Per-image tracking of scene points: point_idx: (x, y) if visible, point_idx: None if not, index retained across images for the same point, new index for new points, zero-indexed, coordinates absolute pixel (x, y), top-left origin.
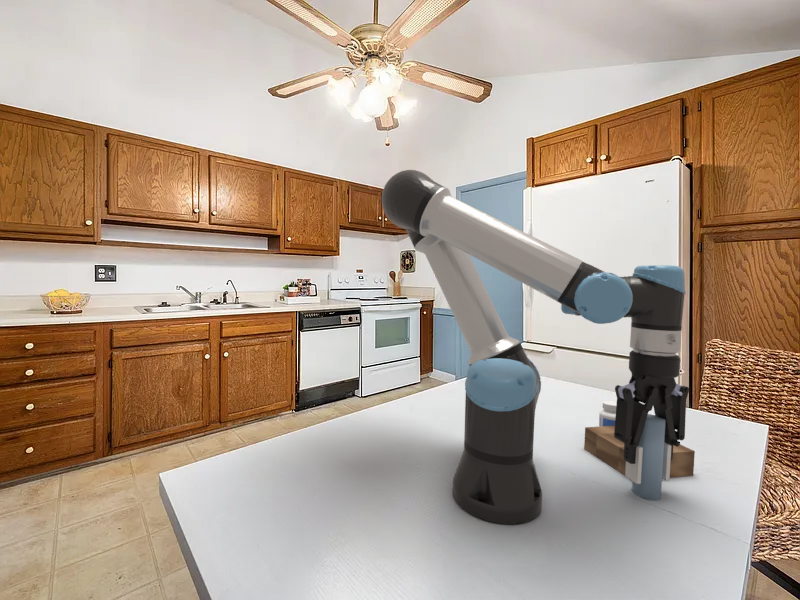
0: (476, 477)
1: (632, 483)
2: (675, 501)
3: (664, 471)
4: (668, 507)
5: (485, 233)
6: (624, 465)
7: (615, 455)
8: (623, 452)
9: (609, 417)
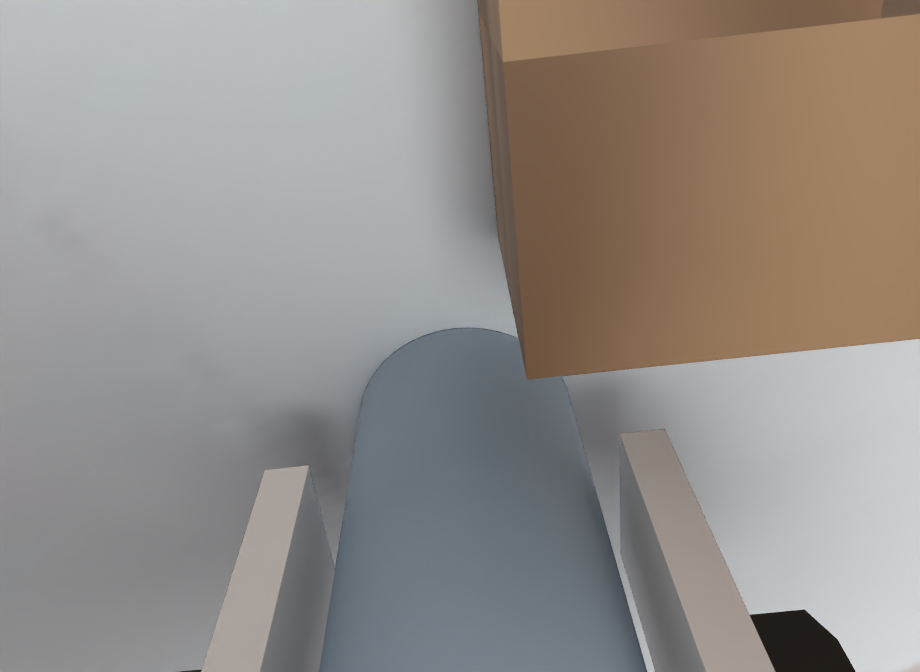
0: None
1: (366, 413)
2: (615, 515)
3: (642, 606)
4: None
5: None
6: (495, 138)
7: None
8: (507, 153)
9: None
